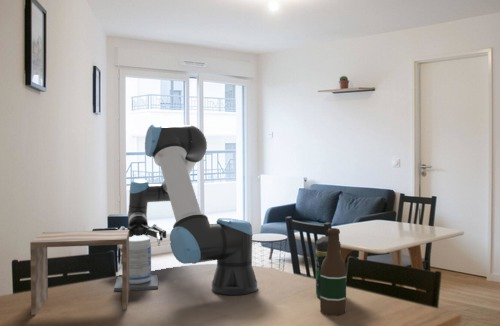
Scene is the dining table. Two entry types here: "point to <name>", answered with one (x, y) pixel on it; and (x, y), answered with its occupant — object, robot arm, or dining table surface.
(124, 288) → the shelf
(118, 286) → the mat
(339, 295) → the beer bottle
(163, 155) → the robot arm
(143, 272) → the supplement tub
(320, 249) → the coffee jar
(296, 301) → the dining table surface
